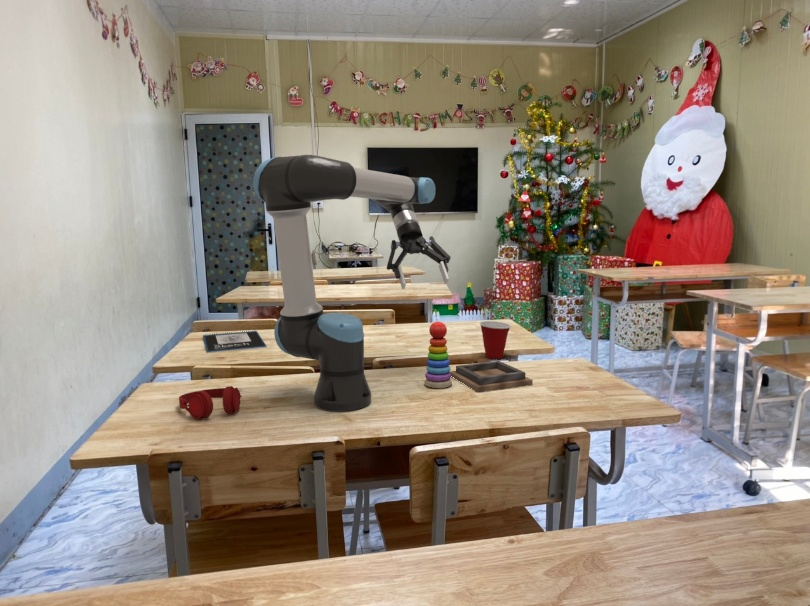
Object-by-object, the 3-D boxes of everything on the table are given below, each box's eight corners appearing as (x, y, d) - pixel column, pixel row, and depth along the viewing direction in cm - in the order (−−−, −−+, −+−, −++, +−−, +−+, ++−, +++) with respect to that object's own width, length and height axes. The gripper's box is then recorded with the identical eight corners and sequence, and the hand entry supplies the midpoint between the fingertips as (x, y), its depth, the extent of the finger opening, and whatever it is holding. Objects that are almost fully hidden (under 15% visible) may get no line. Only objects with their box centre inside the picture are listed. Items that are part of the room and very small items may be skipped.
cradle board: (477, 392, 165) (478, 380, 165) (449, 376, 182) (449, 365, 181) (532, 384, 172) (532, 373, 171) (500, 369, 188) (500, 359, 188)
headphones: (249, 413, 149) (231, 402, 167) (247, 385, 149) (229, 377, 167) (188, 424, 142) (176, 412, 160) (185, 395, 142) (173, 386, 160)
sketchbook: (206, 355, 216) (206, 349, 215) (202, 338, 243) (202, 333, 243) (266, 349, 223) (266, 343, 223) (256, 333, 251) (256, 329, 251)
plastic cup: (510, 361, 198) (511, 326, 197) (478, 360, 201) (478, 325, 199) (511, 354, 209) (511, 320, 207) (480, 352, 211) (480, 319, 209)
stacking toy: (457, 386, 172) (457, 322, 169) (435, 390, 167) (435, 325, 164) (440, 379, 178) (440, 318, 175) (419, 384, 174) (418, 321, 171)
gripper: (441, 232, 194) (461, 285, 184) (368, 239, 187) (383, 295, 177) (447, 217, 188) (467, 272, 178) (371, 224, 181) (387, 281, 171)
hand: (425, 283), depth 177 cm, fingers open, 13 cm apart
